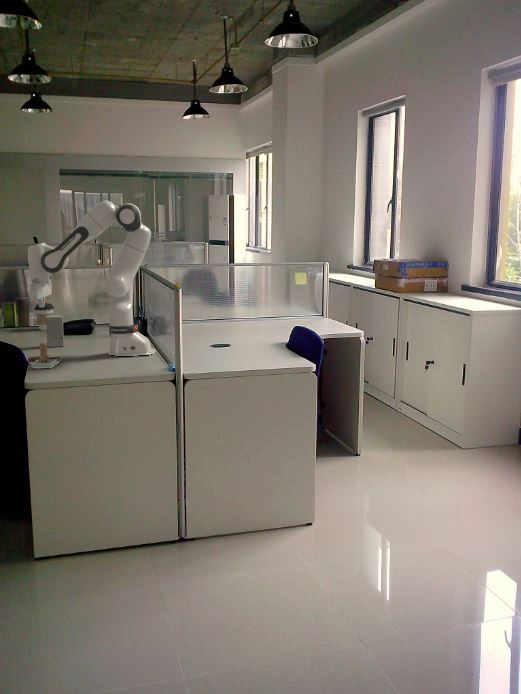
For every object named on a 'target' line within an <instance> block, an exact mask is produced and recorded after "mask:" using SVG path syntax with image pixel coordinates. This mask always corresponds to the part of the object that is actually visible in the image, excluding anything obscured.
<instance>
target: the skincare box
mask: <svg viewBox="0 0 521 694" xmlns="http://www.w3.org/2000/svg"><path fill="white" fill-rule="evenodd" d="M63 317H64V316H63V315H53V316H46V327H47V330H46V341H47V348H48V347H50V348H60V347H59V346H64V347H65V340H64V339H65V337H64V336H65V335H64V320H63Z"/></svg>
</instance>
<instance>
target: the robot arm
mask: <svg viewBox="0 0 521 694" xmlns="http://www.w3.org/2000/svg"><path fill="white" fill-rule="evenodd" d="M140 209H141V208H139V207H138V206H137V205H135V204H133V203H129V202H127V203H123V204H120V205H115V204H114V203H113V202H111V201H110V200H107V199H106V200H102V201H100V202H99V203H98V204H96V205H95V206H93V207H92V208H91V209H90V210H89V211H88V212H87V213H86V214H85V215H84V216H83V217H82V218H81V219H80V221H79V222H78V224H77V225H76V226H75V228H74V229H73V230H72V232H71V233H70V234H69V235H68V236H67V237H66V238H65V239H64V240H63V241H62V242H61V243H59V244H58V245H57V246H56V247H53V246H50V245H48V244H47V243H46V242H38V243H33V244H30V245H29V246H28V249H27V263H28V266H29V269H28V273H29V274H28V275H29V276H28V277H29V281H30V284H29V298H30V300H32V301H37V303H38V304H39V307H40V308H41V307H44V306H45V304H46V297H48V296H51V295H52V291H53V286H52V285H53V284H52V280H53V275H52V274H55V273H58V272H59V271H61V270H64V269H65V268H67V267H68V265H69V263H70V257H69V256H70V255H71V254H73V252H75V251H76V249H78V248H79V247H80V246H81V245H83V244H84V243H86V242H89V241H92V240H95V239H96V238H98V237H99V236H100V235H101V234H103V233H104V232H105V231H106V230H107V229H108V228H109V227H110V226H111V225H113V224H114V223H118V225H119V226H121V227H123V228H124V230H126V232H127V234H126V237H125V239H124V242H123V243H122V247H121V249H120V251H119V254H118V255H117V258H116V260H115V261H114V263H113V266H112V268H111V270H110V271H109V274H108V276H107V278H106V280H105V282H104V289H105V292H106V293H107V295H109V306H108V317H109V318H108V319H109V326H108V333H109V337H110V338H109V340H110V341H109V350H108V352H107V353H108V354H107V355H109V356H111V355H115V356H114V357H116V356H134V357H139V356H138V355H149V356H152V355H154V354H155V353H157V351H156V349H155V348H153V347H152V345H151V341H150V340H149V338H148V337H147V336H144V335H143V334H141V333H140V332H139V331H138V330H139V326H138V324H135V323H134V315H133V313H134V312H133V302H134V301H133V298H134V296H133V295H134V291H133V290H134V281H133V280H134V279H135V276H136V275H137V272H138V271H139V269H140V267H141V264H142V263H143V260H144V257H145V255H146V253H147V251H148V248H149V246H150V242H151V238H152V231H151V229H150V228H149V227H148V226H146V225H145V224H143V223H142V222H141V221H142V220H141V219H142V212H141V210H140ZM151 354H152V355H151Z"/></svg>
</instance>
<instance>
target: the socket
mask: <svg viewBox="0 0 521 694" xmlns="http://www.w3.org/2000/svg"><path fill="white" fill-rule="evenodd" d="M47 359H48V360H54V359H57V362H58V361H60V360H61V359H62V356H49V357H48V358H47Z"/></svg>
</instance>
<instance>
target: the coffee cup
mask: <svg viewBox="0 0 521 694" xmlns="http://www.w3.org/2000/svg"><path fill="white" fill-rule="evenodd" d="M54 309H55V306H54V305H53V303H46V302H45V306H44V307H41V308H40V307H39V303H38V304H37V303H36V305H35V307H34V311H35V316H36V318H37V319H36V320H37V323H38V328H39V331H42V332H43V331H47V327H46V316H54Z"/></svg>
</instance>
